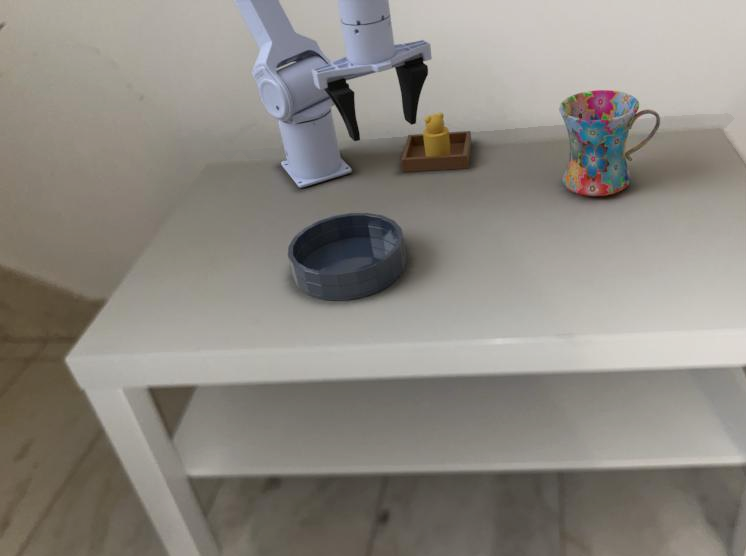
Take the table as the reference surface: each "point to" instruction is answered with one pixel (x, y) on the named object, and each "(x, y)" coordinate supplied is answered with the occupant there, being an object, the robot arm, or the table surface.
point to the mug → (600, 140)
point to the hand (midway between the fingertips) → (382, 129)
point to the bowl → (347, 256)
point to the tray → (419, 161)
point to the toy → (436, 136)
